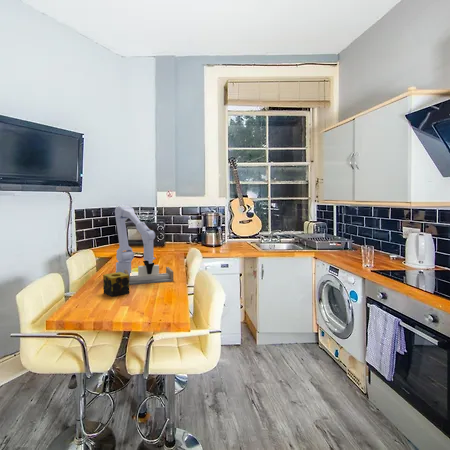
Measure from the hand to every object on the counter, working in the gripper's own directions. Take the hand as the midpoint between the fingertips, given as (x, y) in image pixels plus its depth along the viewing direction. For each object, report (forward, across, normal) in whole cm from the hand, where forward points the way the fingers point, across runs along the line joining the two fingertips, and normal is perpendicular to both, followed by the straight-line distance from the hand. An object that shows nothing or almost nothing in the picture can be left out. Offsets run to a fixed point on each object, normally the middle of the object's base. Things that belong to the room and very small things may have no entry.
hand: (148, 273), depth 203 cm
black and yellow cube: (+5, -21, +20) cm, 29 cm away
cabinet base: (+4, 0, 0) cm, 4 cm away
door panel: (+3, 0, 0) cm, 3 cm away
